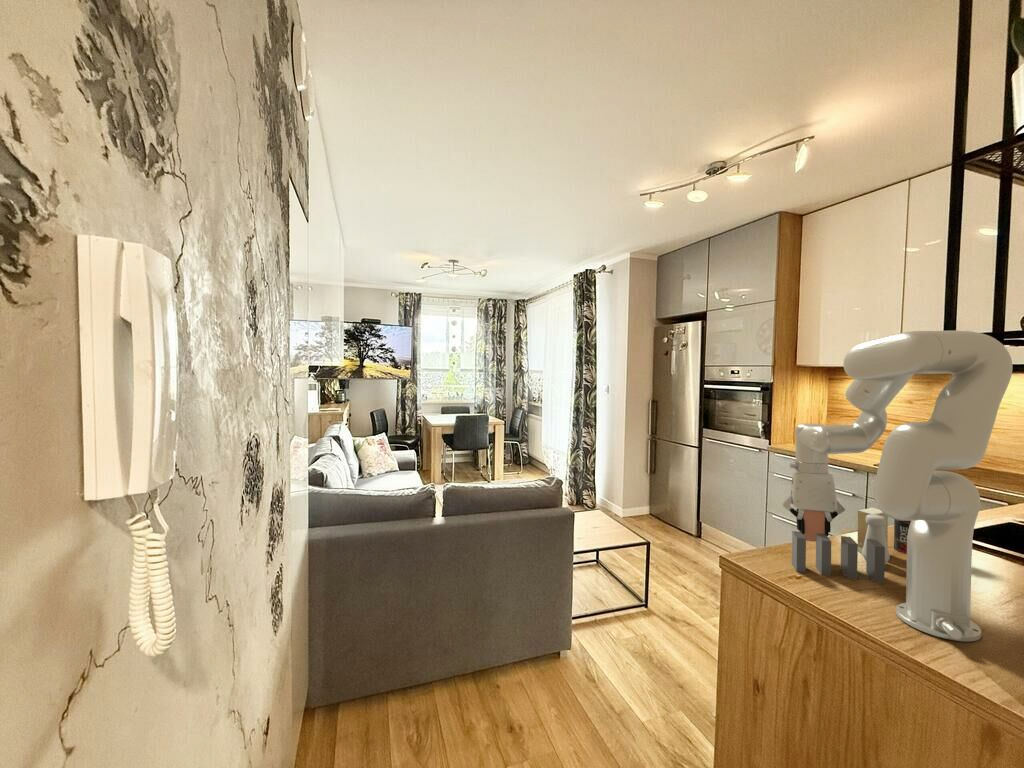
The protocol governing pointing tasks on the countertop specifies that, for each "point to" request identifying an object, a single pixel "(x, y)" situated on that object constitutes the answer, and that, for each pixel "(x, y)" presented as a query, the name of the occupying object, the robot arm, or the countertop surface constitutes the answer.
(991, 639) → the countertop surface
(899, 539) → the deodorant
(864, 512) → the skincare box
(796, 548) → the tile
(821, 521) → the head tile
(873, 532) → the salt shaker
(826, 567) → the tile
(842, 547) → the tile
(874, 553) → the tile
